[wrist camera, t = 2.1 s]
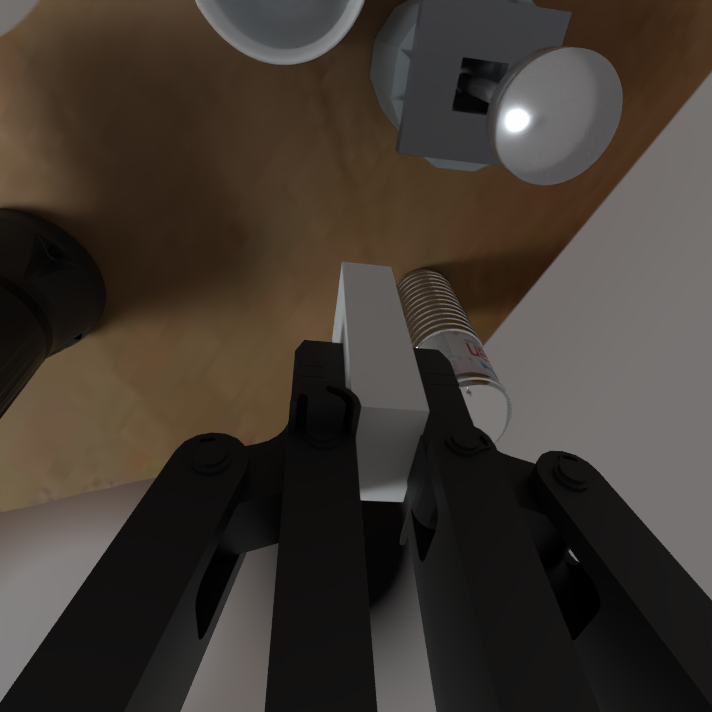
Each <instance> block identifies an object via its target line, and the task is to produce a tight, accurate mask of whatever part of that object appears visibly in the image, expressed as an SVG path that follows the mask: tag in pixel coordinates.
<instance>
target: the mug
mask: <svg viewBox="0 0 712 712" xmlns="http://www.w3.org/2000/svg"><path fill="white" fill-rule="evenodd" d="M195 2H196V4H197V5H198V7H199V9H200V11H201V12H202V14H203V15H204V17H205V18H206V19H207V21H208V22H209V24H210V25H211V26H212V27H213V28H214V30H215V31H216V32H217V33H218V34H219V35H220V36H221V37H222V38H223V39H224V40H225V41H227V42H228V43H229V44H230V45H232V46H233V47H234V48H236V49H237V50H239V51H240V52H242V53H244V54H245V55H247V56H250V57H252V58H254V59H256V60H259V61H262V62H266V63H270V64H277V65H293V64H299V63H304V62H308V61H311V60H313V59H316V58H318V57H320V56H321V55H323V54H325V53H326V52H328V51H329V50H330V49H332V48H333V47H334V46H335V45H337V44H338V43H339V42H340V41H341V40H342V39H343V38H344V36H345V35H346V34H347V33H348V31H349V30H350V29H351V27H352V26H353V24H354V23H355V21H356V19H357V18H358V16H359V14H360V12H361V9H362V7H363V5H364V2H365V0H195Z"/></svg>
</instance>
